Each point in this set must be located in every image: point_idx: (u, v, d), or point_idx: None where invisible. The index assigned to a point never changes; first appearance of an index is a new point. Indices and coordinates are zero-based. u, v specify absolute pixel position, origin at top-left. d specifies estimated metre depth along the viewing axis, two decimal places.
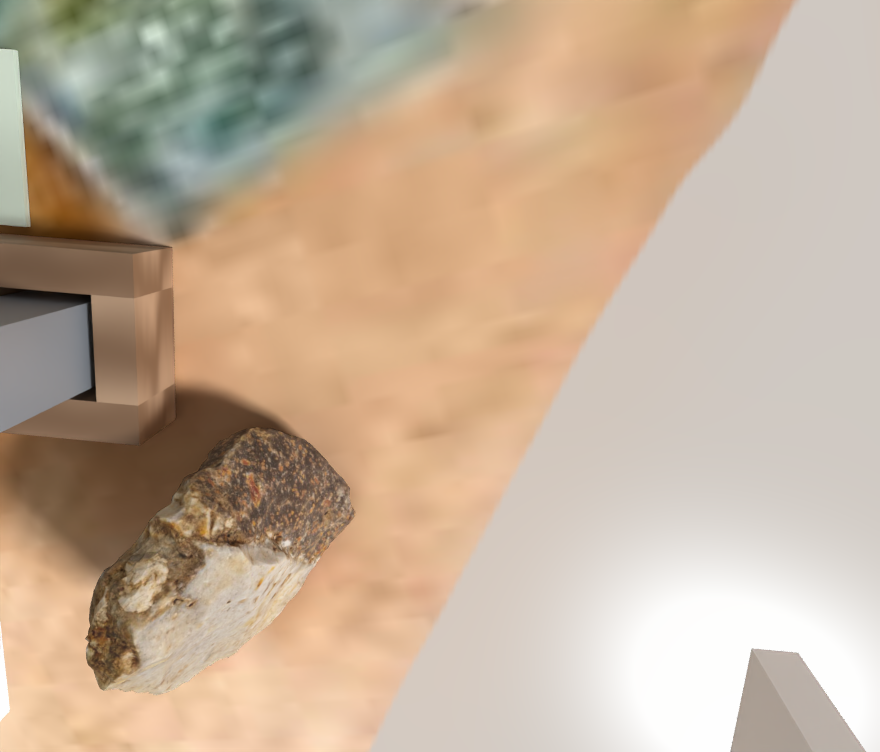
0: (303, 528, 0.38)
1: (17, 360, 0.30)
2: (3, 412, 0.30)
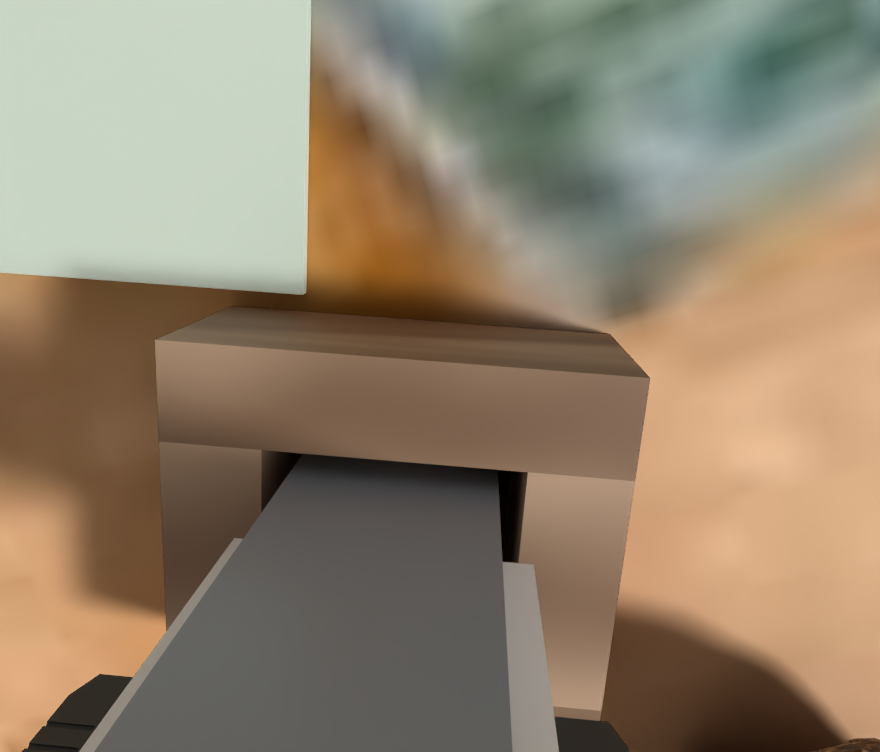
0: None
1: None
2: None
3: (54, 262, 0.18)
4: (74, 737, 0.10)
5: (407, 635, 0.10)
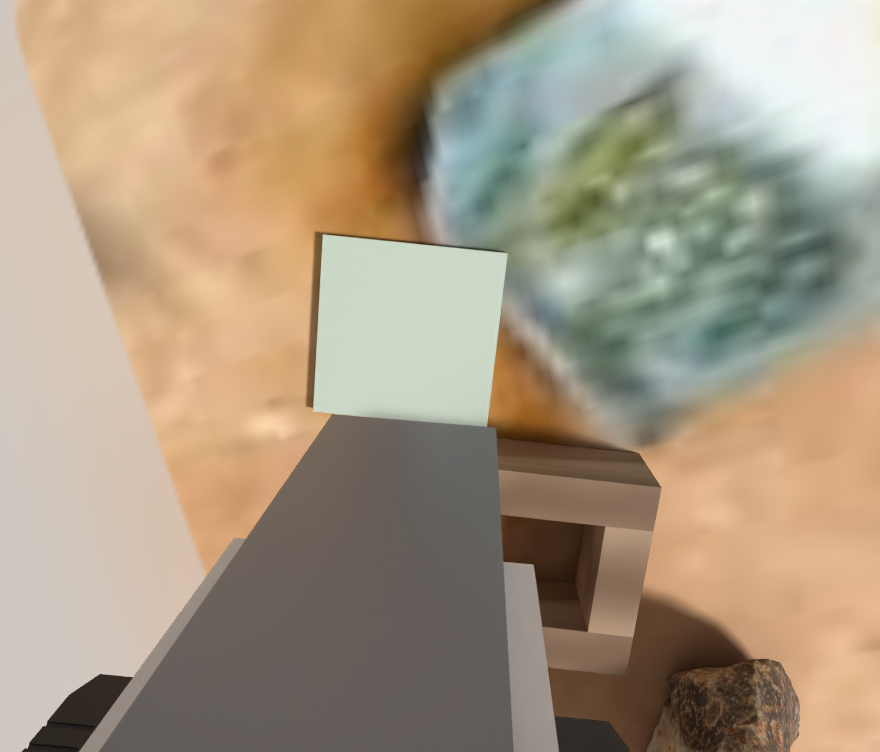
0: None
1: None
2: None
3: (360, 409, 0.36)
4: (74, 737, 0.10)
5: (408, 638, 0.10)
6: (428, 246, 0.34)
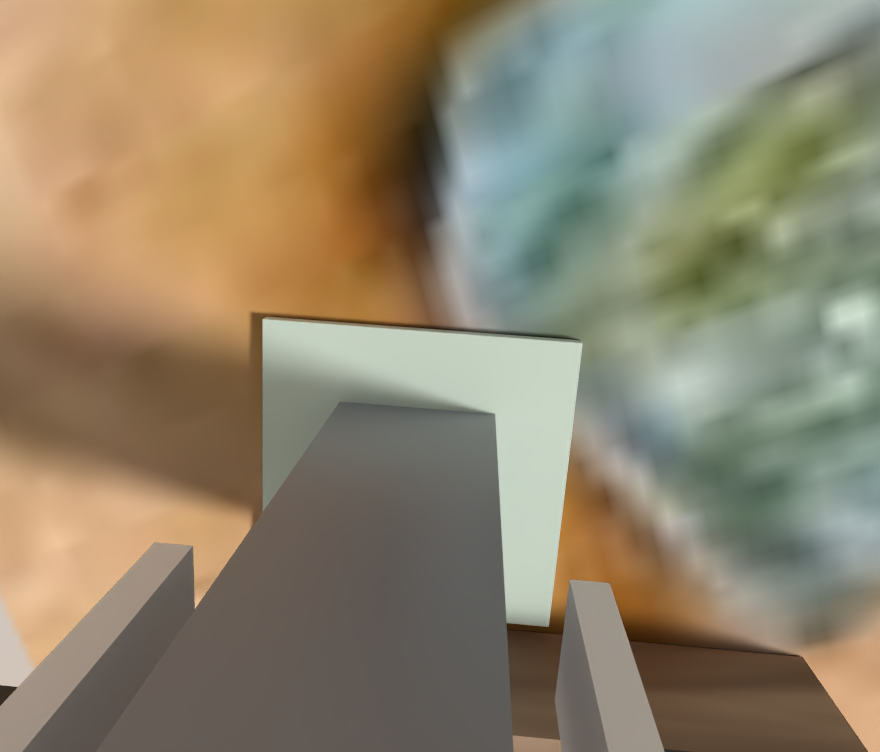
0: None
1: None
2: None
3: None
4: None
5: (415, 593, 0.11)
6: (444, 334, 0.20)
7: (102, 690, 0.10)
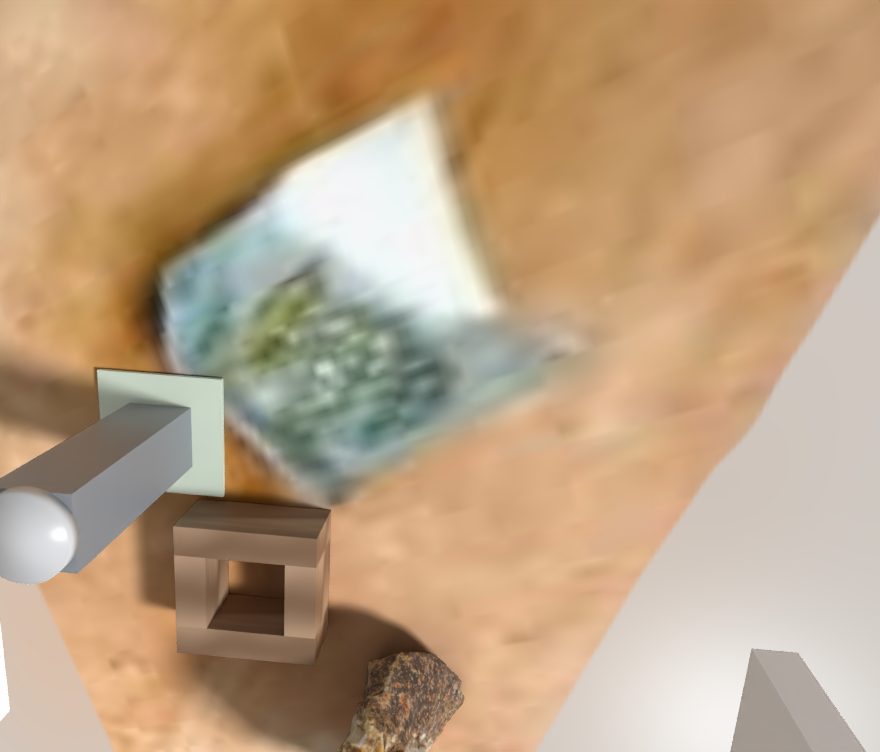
0: (432, 722, 0.51)
1: (125, 483, 0.41)
2: (116, 523, 0.40)
3: None
4: None
5: (101, 453, 0.41)
6: (168, 376, 0.49)
7: None
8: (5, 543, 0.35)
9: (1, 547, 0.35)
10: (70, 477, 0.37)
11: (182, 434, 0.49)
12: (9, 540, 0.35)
